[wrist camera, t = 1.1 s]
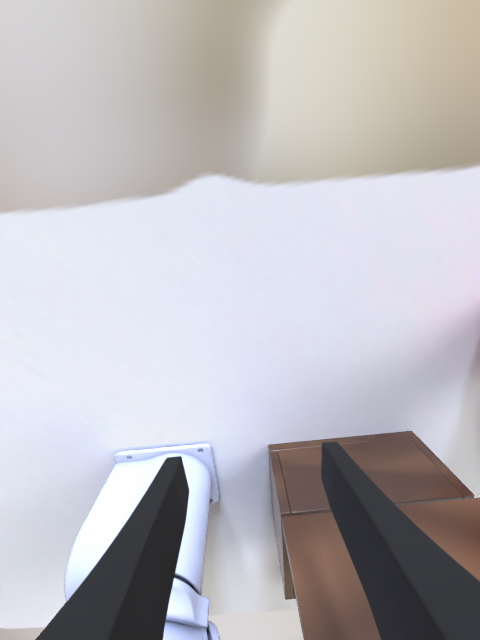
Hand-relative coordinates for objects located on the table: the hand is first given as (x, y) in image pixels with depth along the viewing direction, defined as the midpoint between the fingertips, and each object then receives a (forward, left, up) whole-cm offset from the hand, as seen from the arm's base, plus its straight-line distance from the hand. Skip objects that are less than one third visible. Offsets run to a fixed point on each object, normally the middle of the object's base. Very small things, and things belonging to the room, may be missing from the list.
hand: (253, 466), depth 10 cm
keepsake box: (+9, -16, -10) cm, 21 cm away
